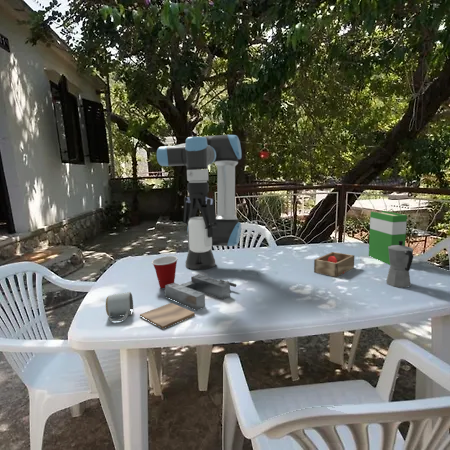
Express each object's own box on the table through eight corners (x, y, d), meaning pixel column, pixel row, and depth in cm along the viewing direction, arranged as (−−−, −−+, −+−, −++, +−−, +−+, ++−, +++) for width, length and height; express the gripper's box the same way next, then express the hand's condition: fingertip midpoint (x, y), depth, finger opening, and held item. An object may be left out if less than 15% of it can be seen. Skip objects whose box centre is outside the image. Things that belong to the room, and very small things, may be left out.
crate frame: (314, 272, 154) (314, 259, 153) (332, 263, 167) (332, 251, 166) (336, 277, 146) (337, 263, 145) (353, 267, 159) (354, 255, 158)
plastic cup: (150, 284, 143) (149, 257, 141) (175, 280, 147) (174, 254, 145) (156, 293, 133) (154, 264, 131) (182, 288, 138) (180, 260, 136)
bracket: (344, 274, 151) (344, 257, 150) (335, 275, 150) (335, 258, 149) (330, 267, 163) (330, 251, 161) (321, 267, 162) (322, 252, 160)
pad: (140, 317, 112) (139, 314, 112) (171, 305, 121) (171, 302, 121) (162, 329, 103) (162, 326, 103) (194, 315, 112) (194, 312, 112)
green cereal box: (368, 255, 179) (370, 211, 175) (381, 255, 180) (383, 210, 176) (390, 265, 162) (393, 216, 158) (403, 263, 163) (407, 215, 159)
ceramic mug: (110, 311, 117) (108, 290, 116) (133, 309, 118) (132, 288, 117) (104, 325, 107) (102, 303, 105) (130, 323, 108) (128, 300, 107)
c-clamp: (165, 297, 129) (164, 285, 128) (207, 282, 145) (207, 271, 144) (196, 310, 116) (196, 296, 115) (239, 292, 132) (239, 280, 131)
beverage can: (194, 254, 117) (193, 220, 115) (186, 249, 124) (184, 217, 122) (215, 251, 121) (214, 218, 119) (206, 246, 128) (205, 215, 126)
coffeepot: (379, 278, 143) (381, 237, 140) (401, 278, 143) (404, 237, 140) (397, 291, 128) (400, 246, 125) (422, 291, 128) (425, 245, 125)
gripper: (171, 182, 123) (174, 242, 127) (210, 182, 108) (212, 250, 112) (187, 181, 128) (189, 239, 132) (226, 181, 114) (228, 246, 118)
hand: (200, 244), depth 122 cm, fingers closed on beverage can, 8 cm apart
